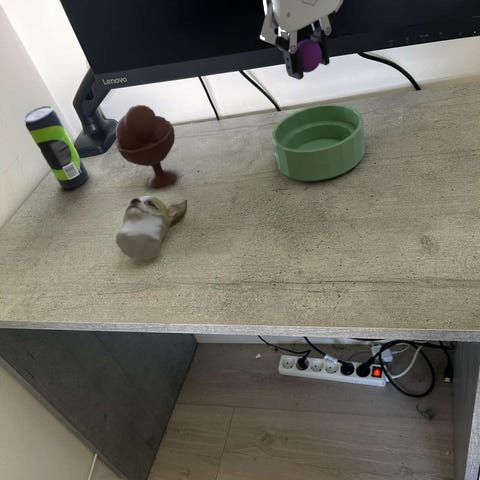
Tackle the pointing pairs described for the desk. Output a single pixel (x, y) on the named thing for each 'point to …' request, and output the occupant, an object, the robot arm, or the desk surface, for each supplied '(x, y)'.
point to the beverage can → (56, 146)
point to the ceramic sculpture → (147, 226)
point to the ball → (309, 54)
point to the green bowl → (319, 142)
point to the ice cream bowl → (146, 142)
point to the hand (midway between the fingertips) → (308, 68)
